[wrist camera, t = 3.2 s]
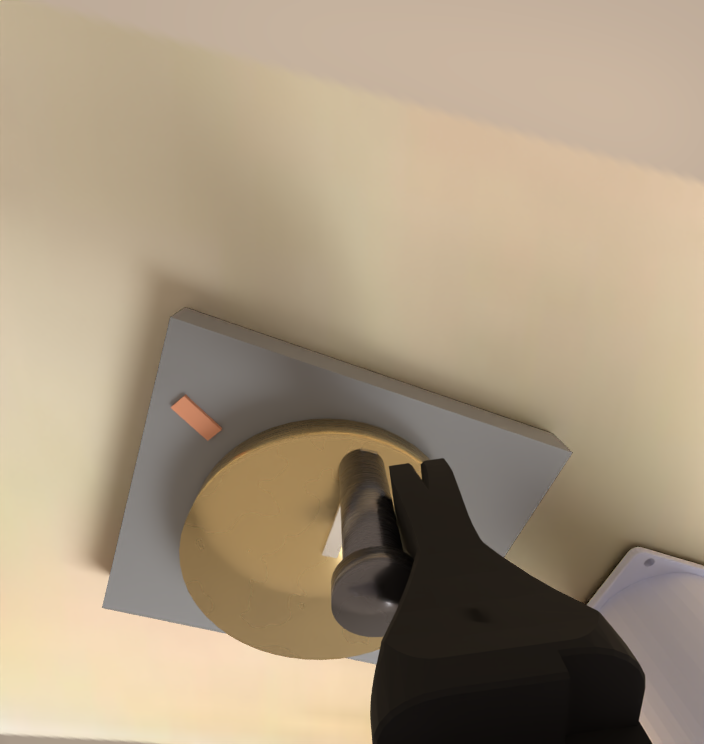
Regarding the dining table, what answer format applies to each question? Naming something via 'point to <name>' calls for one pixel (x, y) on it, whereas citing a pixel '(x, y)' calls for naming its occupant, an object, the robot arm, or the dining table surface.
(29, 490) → the dining table surface
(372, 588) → the brass disc with crank
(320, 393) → the stand
